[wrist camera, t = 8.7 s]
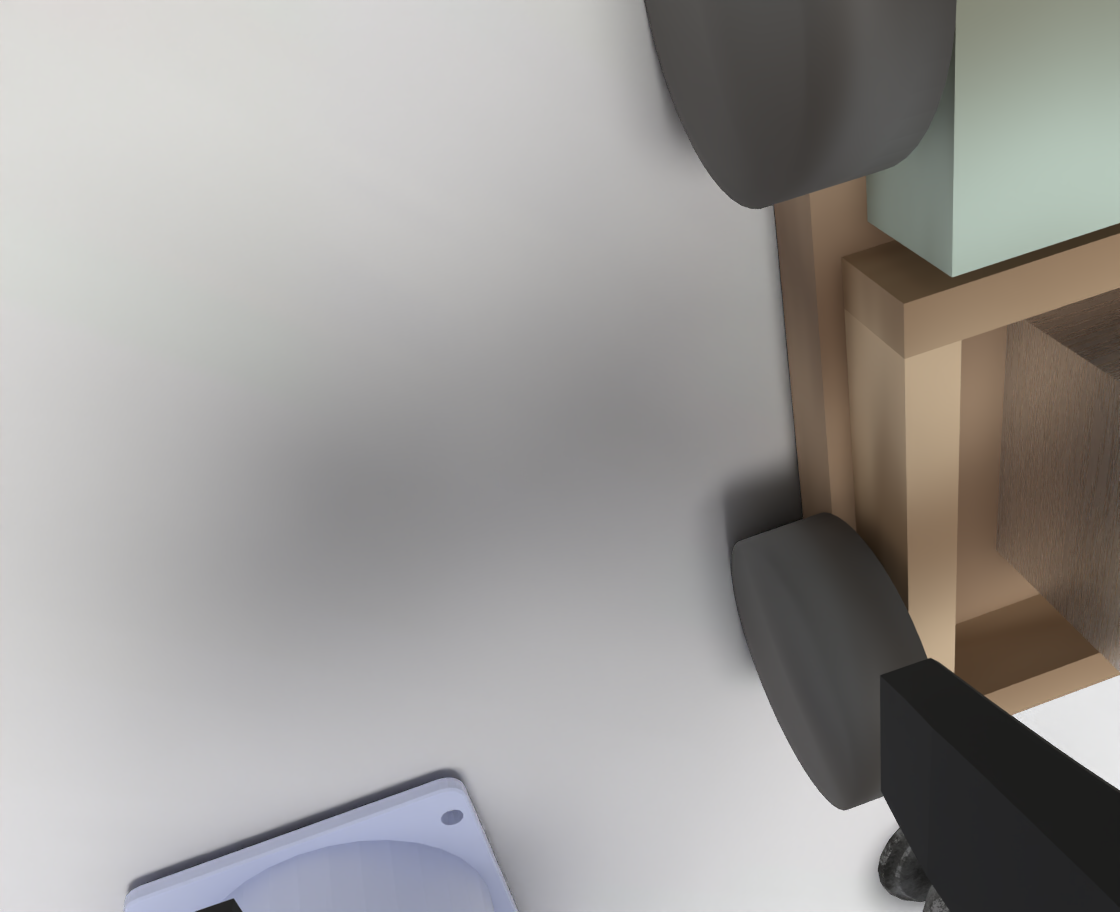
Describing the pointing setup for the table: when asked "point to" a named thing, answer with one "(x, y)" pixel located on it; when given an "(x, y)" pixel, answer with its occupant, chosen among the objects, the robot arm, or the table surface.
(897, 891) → the salt shaker
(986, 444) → the chassis
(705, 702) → the table surface
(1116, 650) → the engine block
